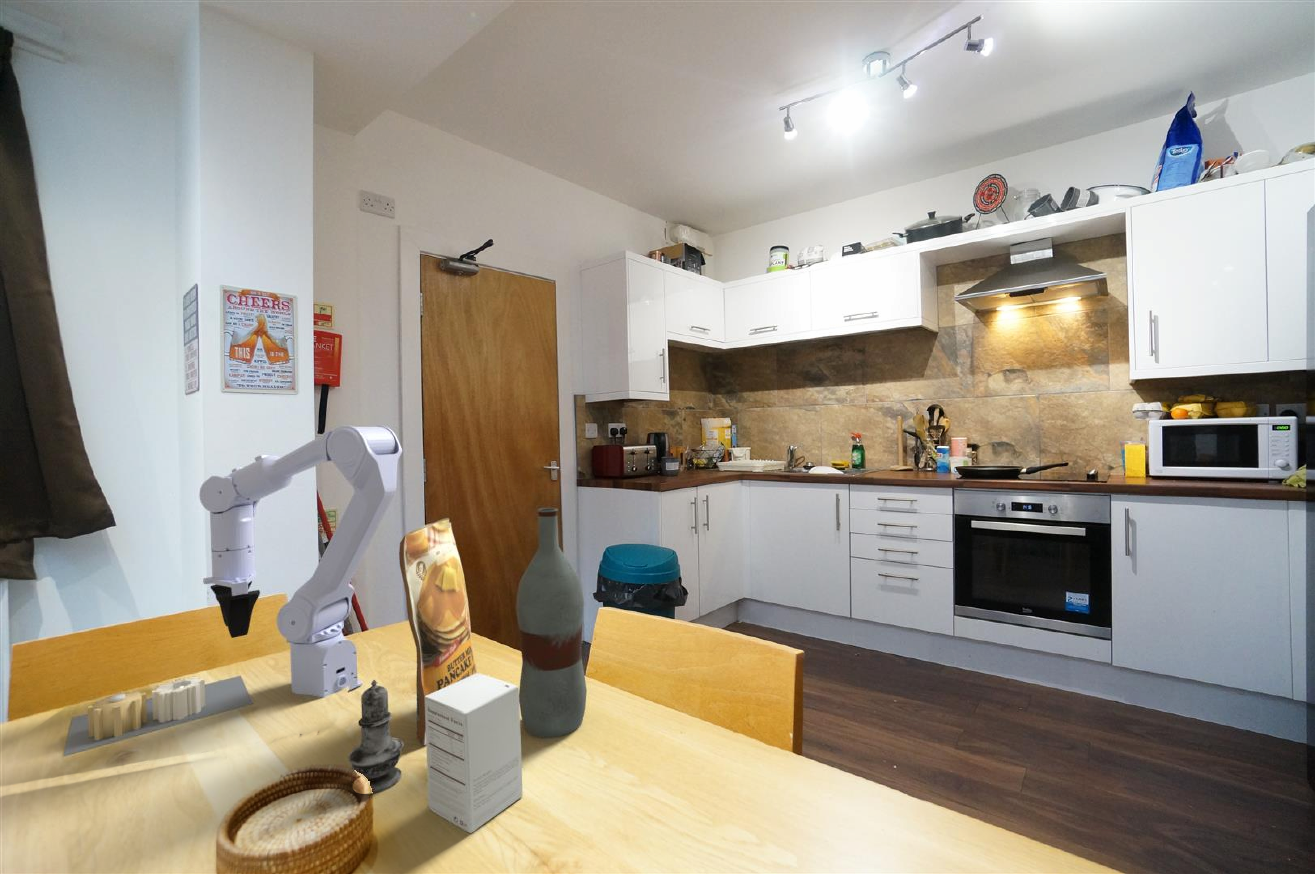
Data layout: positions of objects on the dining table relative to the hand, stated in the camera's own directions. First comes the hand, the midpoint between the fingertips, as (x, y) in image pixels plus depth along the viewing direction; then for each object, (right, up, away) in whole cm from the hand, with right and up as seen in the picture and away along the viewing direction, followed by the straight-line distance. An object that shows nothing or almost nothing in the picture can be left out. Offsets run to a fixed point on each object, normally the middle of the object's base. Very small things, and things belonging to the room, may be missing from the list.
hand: (236, 630), depth 95 cm
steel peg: (-1, -10, -10) cm, 14 cm away
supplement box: (+50, -9, -32) cm, 59 cm away
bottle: (+55, -8, -14) cm, 58 cm away
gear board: (-4, -10, -10) cm, 14 cm away
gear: (-1, -9, -10) cm, 13 cm away
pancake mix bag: (+39, -9, -12) cm, 41 cm away
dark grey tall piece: (+36, -9, -27) cm, 46 cm away
